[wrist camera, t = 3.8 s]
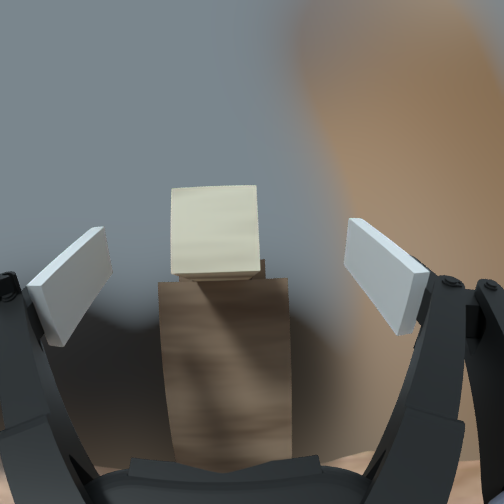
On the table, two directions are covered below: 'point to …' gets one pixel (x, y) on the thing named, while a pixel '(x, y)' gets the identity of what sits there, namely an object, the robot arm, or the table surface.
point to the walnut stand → (227, 370)
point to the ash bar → (215, 233)
